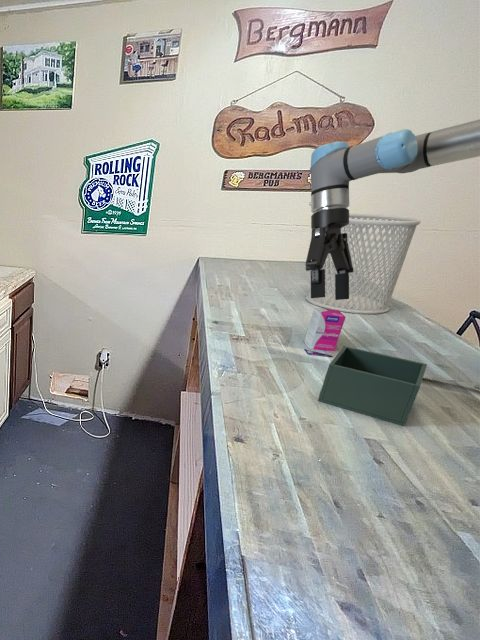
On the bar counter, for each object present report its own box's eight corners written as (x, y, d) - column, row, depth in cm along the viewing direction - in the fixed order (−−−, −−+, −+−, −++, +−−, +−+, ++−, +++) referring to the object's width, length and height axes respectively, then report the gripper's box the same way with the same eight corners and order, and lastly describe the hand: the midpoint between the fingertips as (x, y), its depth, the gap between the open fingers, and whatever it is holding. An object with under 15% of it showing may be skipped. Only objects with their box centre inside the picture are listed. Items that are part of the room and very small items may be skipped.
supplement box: (307, 355, 121) (319, 313, 116) (302, 347, 126) (313, 307, 121) (333, 358, 119) (346, 316, 114) (326, 349, 124) (338, 309, 119)
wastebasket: (318, 291, 180) (341, 211, 168) (397, 305, 163) (428, 217, 151) (295, 302, 165) (318, 216, 153) (378, 319, 148) (411, 223, 136)
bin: (412, 400, 98) (427, 364, 94) (403, 426, 88) (420, 386, 85) (332, 379, 107) (343, 345, 104) (317, 400, 98) (329, 364, 94)
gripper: (333, 221, 121) (334, 301, 122) (288, 208, 107) (289, 298, 108) (368, 213, 115) (369, 298, 115) (324, 199, 101) (325, 295, 102)
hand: (330, 298), depth 112 cm, fingers open, 13 cm apart
